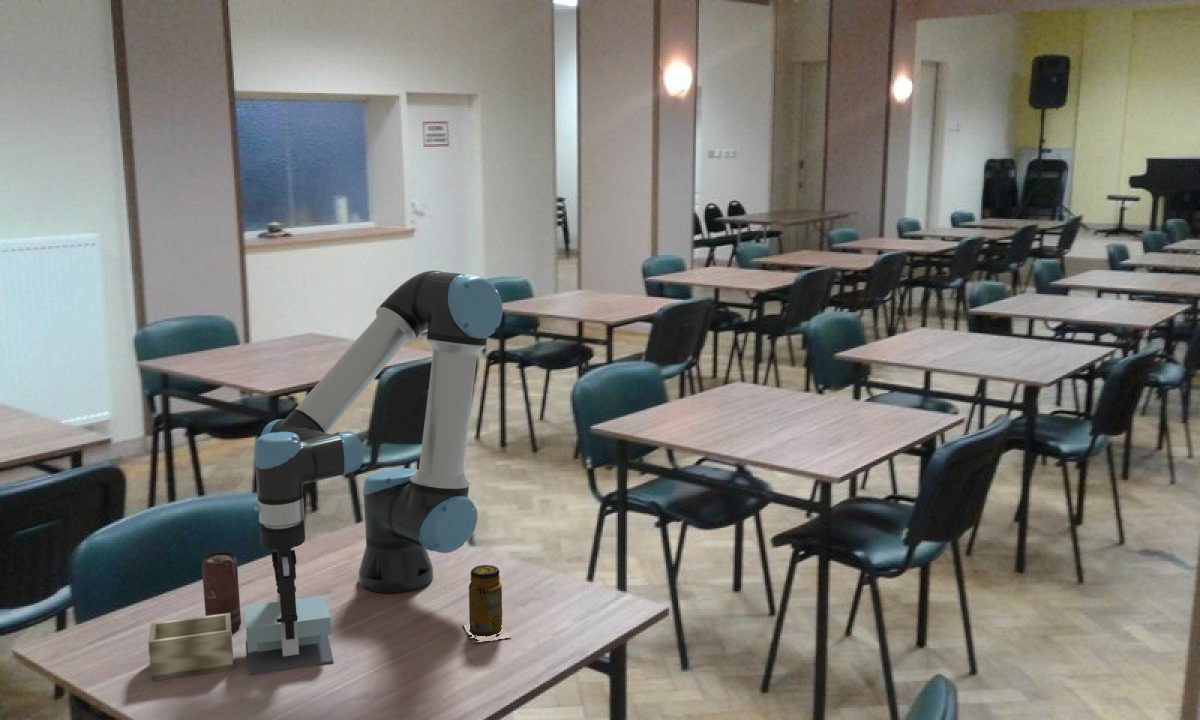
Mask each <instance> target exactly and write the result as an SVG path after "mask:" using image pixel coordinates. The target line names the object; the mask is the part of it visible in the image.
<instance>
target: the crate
mask: <svg viewBox="0 0 1200 720" xmlns="http://www.w3.org/2000/svg"><path fill="white" fill-rule="evenodd" d="M147 643H148V652H149V653H148V654H149V656H148V657H149V666H150V678H151V679H150V680H151V682H158V681H164V680H170V679H171V680H172V679H178V678H184V677H190V676H199V675H207V674H211V673H212V674H213V673H218V672H219V673H220V672H226V671H233V670H234V650H233V632H232V631H231V617H230V613H226V614H218V615H210V616H206V615H203V616H195V617H188V618H181V619H173V620H166V621H158V622H151V623H150V629H149V636H148V642H147Z"/></svg>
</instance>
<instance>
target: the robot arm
mask: <svg viewBox="0 0 1200 720" xmlns="http://www.w3.org/2000/svg"><path fill="white" fill-rule="evenodd" d="M503 310H504V309H503V302H502V299H501V295H500V293H499V291H498V290H497V289H496V287H495V285H494V284H493V283H492V282H491V281H490V280H488V279H486V278H484V277H481V276H478V275H473V274H470V273H457V272H447V271H440V270H427V271H424V272H421V273H418V274H415V275H414V276H412V277H410V278H409V279H408V280H406V281H405V282H404V283H402V284H401V285H400V286H398V287H397V288H396V289H395V290H394V291H393V292H392V293H390V295H388V297H387V298H386V299H384V300H383V302H382V303H381V304H380V305H379V306H378V308H376V310H375V315H376V317H375V318H374V319H373V321H372V322H371V323H370V324H369V326H368V327H367V328H366V329H365V330H364V331H363V332H362V333H361V334H360V335H359V336H358V337H357V339H356V340H355V341H354V342H353V343H352V344H351V346H349V348H348V349H347V350H346V351H345V352H344V354H343V355H342V356H341V357H340V358H339V359H338V360H337V361H336V362H335V363H334V365H333V366H332V367H331V368H330V369H329V370H328V372H327V373H325V375H324V376H323V377H322V378H321V379H320V380H319V381H318V383H316V385H315V386H314V387H313V388H312V389H311V390H310V392H308V394H307V395H306V396H305V397H304V398H303V399H302V400H301V401H300V403H299V404H298V405H297V406H296V407H295V408H294V409H293V410H292V411H291V412H290V414H288V416H286V418H285V419H284V418H283V419H276V420H273V421H271V422H269V423H268V424H267V425H265V427H264V428H263V430H262V432H261V434H260V436H259V437H258V438H257V439H256V441H255V443H254V462H253V463H254V467H255V477H256V480H255V481H256V491H257V503H258V505H255V506H254V511H255V512H258V522H259V523H260V525H259V527H258V528H259V542H260V545H261V546H262V547H263V548H264V549H266V550H267V549H268V550H274V551H272V552H271V561H272V566H273V570H274V577H275V586H276V587H277V589H276V593H277V598H276V599H277V602H279V601H280V606H281V618H279V619H277V623H279V622H281V636H282V653H283V656H290V655H296V654H299V644H298V627H297V619H298V616H297V612H296V599H297V598H296V592H297V588H296V587H297V586H296V585H295V580H296V578H297V572H296V570H297V569H296V565H297V556H296V549H293V548H295V547H298V546H301V545H302V544H303V543H304V542H305V541H306V531H305V529H306V528H305V521H304V519H305V507H304V494H303V485H305V484H309V483H314V482H317V481H322V480H326V479H330V478H334V477H339V476H345V475H347V474H349V473H353V472H355V471H358V470H359V469H360V468H361V466H362V465H363V463H364V447H363V444H362V440H361V439H360V437H359V436H358V435H357V434H356V433H355V432H353V431H349V430H347V431H337V432H335V433H328V432H329V431H330V430H331V429H332V427H333V426H335V424H336V423H337V422H338V421H339V420H340V419H341V417H342V416H344V414H345V413H346V412H347V410H348V409H349V408H350V407H351V406H352V405H353V404H354V403H355V401H356V400H357V399H358V398H359V397H360V395H362V393H363V392H364V391H365V390H366V389H367V388H368V386H369V385H370V384H371V383H372V382H373V381H374V379H375V378H376V377H377V376H378V375H379V374H380V373H381V372H382V370H384V368H385V367H386V366H387V365H388V364H389V362H390V361H391V360H392V359H393V358H394V357H395V356H396V354H397V353H398V352H400V350H401V349H402V348H403V346H404V345H405V344H406V343H413V342H415V340H416V339H418V337H419V336H420V335H421V334H422V333H424V332H426V331H427V332H426V341H427V342H428V343H429V345H430V347H432V358H431V367H430V376H429V383H428V384H429V385H428V393H427V399H426V408H425V417H424V424H423V425H424V426H423V431H422V432H423V433H422V440H421V441H422V442H421V451H420V458H419V465H418V468H419V469H418V468H417V469H416V468H407V467H406V468H393V469H387V470H383V471H379V472H375V473H372V474H370V475H368V476H367V477H366V479H365V480H364V482H363V494H362V497H363V504H364V505H363V506H364V522H365V523H364V525H365V543H366V544H365V545H366V546H365V548H364V553H363V555H362V559H361V562H360V567H359V568H358V569H359V570H358V583H359V585H360V586H361V587H362V588H364V590H367V591H370V592H375V593H383V594H394V593H396V594H398V593H404V592H405V593H406V592H411V591H414V590H417V589H420V588H422V587H424V586H427V585H429V583H431V582H432V580H433V578H434V566H433V564H432V561H431V558H430V555H429V553H428V551H430V552H431V551H432V552H436V553H441V554H448V553H452V552H455V551H457V550H459V549H460V548H462V547H464V545H465V543H466V542H469V540H470V539H471V537H472V536H473V534H474V531H475V530H476V527H477V523H478V518H479V516H478V510H477V506H475V504H474V502H473V501H472V499H470V498H469V490H470V482H469V481H468V479H466V477H465V476H464V467H465V458H466V452H467V444H468V443H467V441H468V435H469V433H468V432H469V426H470V425H469V424H470V417H471V410H472V409H471V408H472V399H473V394H474V392H473V391H474V384H475V377H476V369H477V368H476V367H477V359H478V355H479V353H480V352H482V351H483V350H484V349H486V348H487V342H488V337H490V336H491V335H493V334H494V333H495V332H496V329H498V328H499V326H500V325H501V322H502V319H503V318H502V317H503Z"/></svg>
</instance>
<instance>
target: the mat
mask: <svg viewBox="0 0 1200 720" xmlns="http://www.w3.org/2000/svg"><path fill="white" fill-rule="evenodd" d="M328 635H329V634H323V635H321V643H316V644H309V645H302V646H299V654H296V655H290V656H283V653H282V648H281V649H274V650H267V651H260V652H258V644H252V645H247V644H246V646H247V663H248V665H247V666H248V676H252V675H258V674H259V675H260V674H266V673H267V674H268V673H273V672H279V671H287V670H293V669H300V668H306V667H312V666H313V667H314V666H319V665H320V666H321V665H327V664H333V663H334V657H333V652H332V649H331V644H330V639H329V636H328Z"/></svg>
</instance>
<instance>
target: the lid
mask: <svg viewBox="0 0 1200 720" xmlns="http://www.w3.org/2000/svg"><path fill="white" fill-rule="evenodd" d="M296 612H297V616H298V619H297V627H298V644H299V646H302V645H309V644H316V643H321V635H323V634H328V635H329V634H332V622H331V621H332V620H331V618H332V617H331V615H330V610H329V606H328V601H327V596H326V595H319V596H312V597H311V596H310V597H302V598H296ZM244 617H245V628H246V629H245V630H246V631H245V633H246V634H245V635H246V646H247V645H252V644H258V652H260V651H267V650H274V649H281V648H282V636H281V622H279V623H277V619H279V618H281V606H280V601H279V602H278V601H271V602H264V603H257V604H249V605H244Z"/></svg>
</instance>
